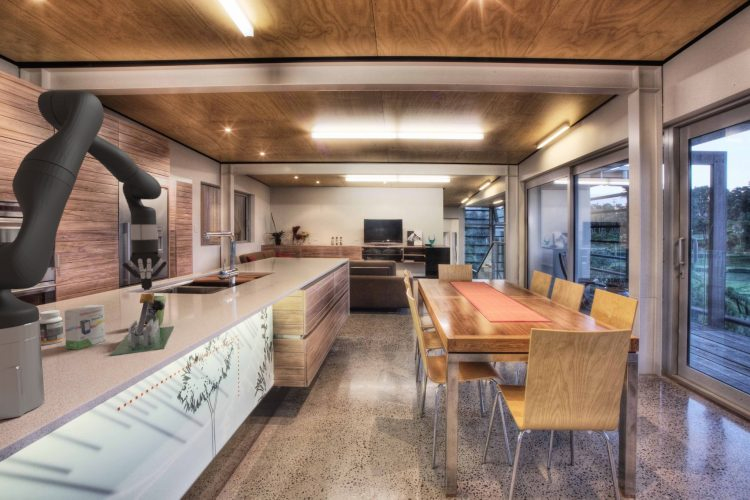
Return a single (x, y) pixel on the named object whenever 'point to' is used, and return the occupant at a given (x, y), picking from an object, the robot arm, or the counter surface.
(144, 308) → the grey and orange bar
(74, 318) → the ink box
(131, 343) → the heatsink board
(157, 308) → the beverage can
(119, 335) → the counter surface
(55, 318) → the pill bottle
